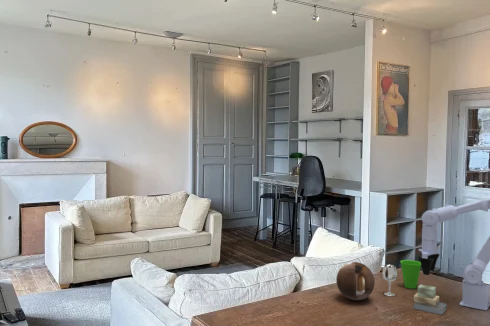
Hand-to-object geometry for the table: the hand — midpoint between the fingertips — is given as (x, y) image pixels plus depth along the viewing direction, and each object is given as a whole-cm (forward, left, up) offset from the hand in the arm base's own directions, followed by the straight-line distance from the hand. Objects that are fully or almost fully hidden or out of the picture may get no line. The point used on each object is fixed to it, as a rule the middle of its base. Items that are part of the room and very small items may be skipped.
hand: (428, 272), depth 176 cm
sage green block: (-2, +11, -8) cm, 14 cm away
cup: (+10, -10, -11) cm, 18 cm away
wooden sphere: (+23, +21, -11) cm, 33 cm away
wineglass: (+14, +6, -11) cm, 19 cm away
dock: (-4, +13, -10) cm, 17 cm away
